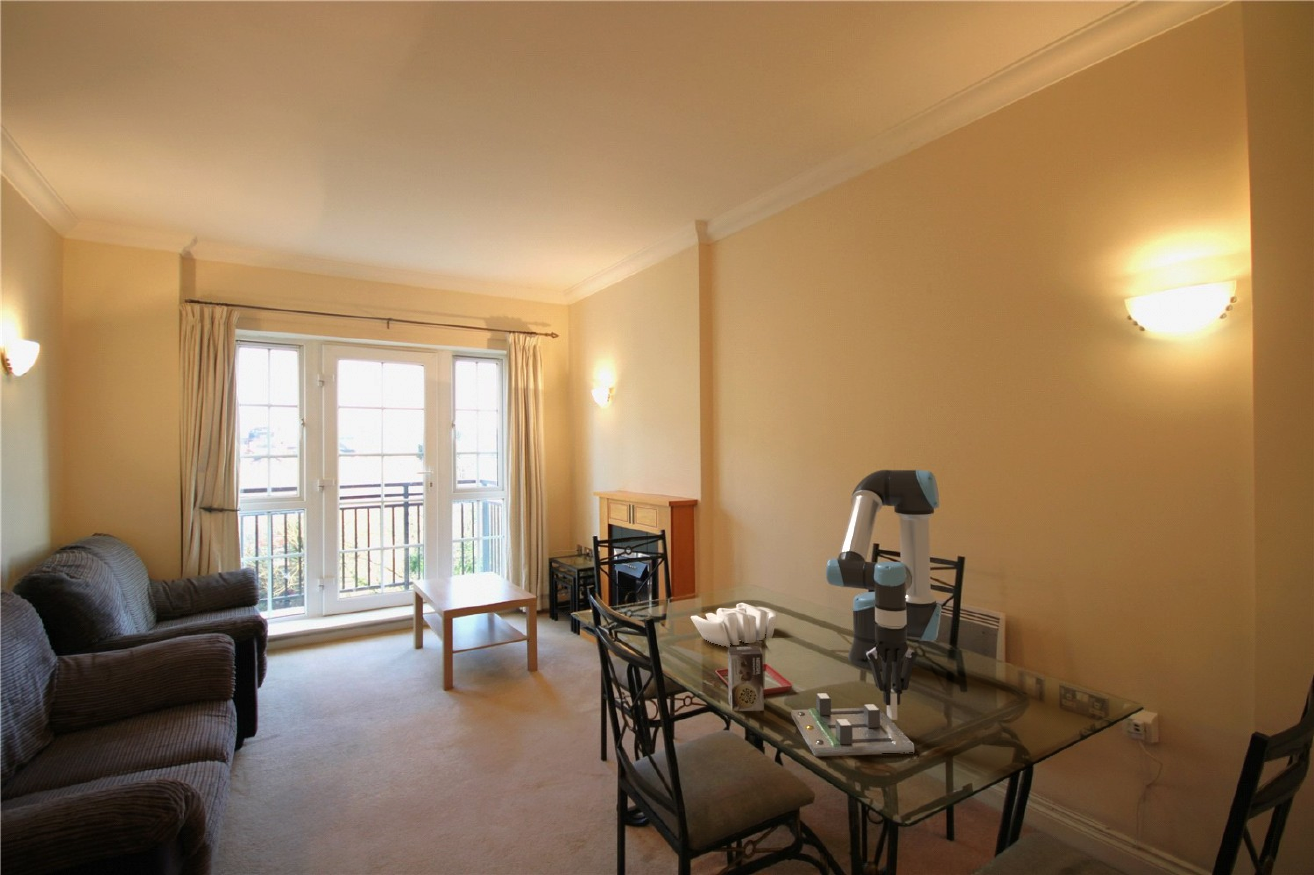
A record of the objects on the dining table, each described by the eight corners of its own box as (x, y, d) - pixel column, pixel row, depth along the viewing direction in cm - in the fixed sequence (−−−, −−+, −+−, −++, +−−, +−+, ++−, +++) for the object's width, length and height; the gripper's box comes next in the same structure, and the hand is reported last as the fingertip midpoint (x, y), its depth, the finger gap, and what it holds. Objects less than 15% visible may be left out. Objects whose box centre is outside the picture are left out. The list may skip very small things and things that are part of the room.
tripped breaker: (875, 721, 152) (874, 704, 152) (880, 727, 149) (879, 709, 149) (863, 722, 152) (863, 704, 152) (868, 727, 149) (868, 709, 149)
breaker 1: (827, 709, 159) (827, 693, 159) (831, 714, 156) (830, 697, 156) (816, 710, 159) (816, 693, 159) (819, 715, 156) (819, 698, 156)
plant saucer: (737, 704, 169) (737, 692, 169) (714, 680, 186) (714, 669, 186) (794, 696, 174) (794, 684, 174) (766, 673, 191) (766, 663, 191)
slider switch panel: (878, 714, 160) (878, 705, 160) (914, 752, 140) (914, 741, 140) (791, 717, 159) (791, 707, 159) (814, 756, 139) (814, 745, 139)
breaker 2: (847, 737, 144) (847, 718, 144) (852, 743, 141) (852, 724, 141) (835, 737, 144) (835, 719, 144) (840, 743, 141) (840, 725, 141)
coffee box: (759, 701, 169) (758, 645, 169) (764, 712, 163) (763, 653, 163) (727, 702, 169) (727, 646, 169) (731, 712, 162) (730, 653, 163)
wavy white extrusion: (709, 651, 211) (708, 621, 212) (687, 637, 226) (687, 610, 227) (788, 636, 226) (788, 609, 226) (763, 625, 241) (763, 599, 241)
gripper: (908, 619, 155) (909, 709, 154) (859, 620, 154) (861, 711, 154) (923, 628, 147) (924, 723, 147) (871, 629, 147) (873, 725, 146)
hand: (892, 717), depth 150 cm, fingers closed
